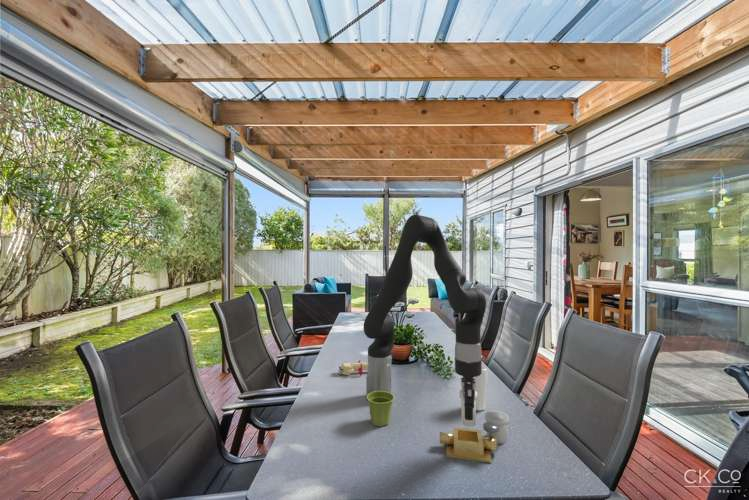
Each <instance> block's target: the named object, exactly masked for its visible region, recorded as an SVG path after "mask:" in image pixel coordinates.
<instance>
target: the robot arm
mask: <svg viewBox="0 0 749 500" xmlns="http://www.w3.org/2000/svg"><path fill="white" fill-rule="evenodd" d="M417 243H422V244H423V243H424V244H426V245H427V246H428V247H429V248H430V249H431V251H432V252H433V264H434V269H435V271H436V274H437V275H438V277H439V279H440V280H441V281H442V283H443V285H444V288H445V292H446V296H447V300H448V304H449V306H450V308H451V309H452V310H453V311H454V312H456V313H457V314H465V316H464V317H463V319H460V320H458V321H457V322H456V324H455V345H454V371H455V373H456V374H457V375H458V376H462V377H461V378H460V383H461V390H462V394H463V398H464V406H465V419H466V420H473V408H474V399H475V388H476V382H475V378H473V377H477V376H480V375H481V373H482V365H483V363H482V360H483V359H482V358H483V357H482V343H481V327H482V324H483V321H484V316H485V313H486V309H487V298H486V295H485V293H484V291H482V290H481V289H480V288H477V287H470V288H467V287H466V288H463V286H464V285H465V284H466V281H467V277H466V274H465V272H464V271H463V270H462V268H461V266H460V265H459V264H458V261H456V259H455V258H454V256H453V254H452V253H451V251H450V248H449V246H448V244H447V241H446V239H445V237H444V235H443V232H442V230H441V227H440V225H439V224H438V222H437V221H436V220H435V219H434V218H432V217H428V216H425V215H421V214H412V215H410V216H409V217H408V219H407V220H406V221H405V224H404V226H403V228H402V232H401V235H400V238H399V242H398V245H397V247H396V251H395V253H394V255H393V259H392V261H391V263H390V265H389V268H388V270H387V273H386V275H385V276H384V280H383V282H382V285H381V288H380V290H379V292H378V294H377V296H376V298H375V299H374V300H375V301H374V302H373V304H372V305H371V308H370V310H369V312H367V315H366V317H365V318H364V322H363V333H364V335H365V336H366V337H367V338H368V339H371V340H373V341H372V342H371V344H370V345H369V346H368V347H367V363H368V370H367V374H366V375H365V376H366V377H365V378H366V381H365V382H366V385H365V387H366V390H365V392H366V393H365V394H366V396H365V398H366V401H368V400H367V395H368V394H369V393H371V392H374V391H386V392H389V393H391V394H392V372H391V371H392V351H393V348H394V344H395V343H394V339H395V337H394V336H395V323H394V319H393V317H392V316H391V314H389V313H390V311H391V310H392V308H394V307H395V306H396V304H397V303H398V302H399V301H400V300H401V299H402V298H403V297H404V295H405V294H406V292H407V290H408V289H409V286H410V284H411V282H412V280H413V276H414V275H413V265H412V255H413V252H414V249H415V246H416V244H417ZM464 392H465V394H464ZM467 401H470V402H471V403H469V402H467Z"/></svg>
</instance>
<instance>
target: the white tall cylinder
mask: <svg viewBox="0 0 749 500" xmlns="http://www.w3.org/2000/svg"><path fill="white" fill-rule="evenodd" d="M473 378H475V382H476V388H475V391H476V392H477V400H476V411H484V410H485V409H486V399H487V388H488V368H487V366H486V365H483V364H482V373H481V375H480V376H477V377H473Z"/></svg>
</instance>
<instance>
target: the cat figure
mask: <svg viewBox="0 0 749 500" xmlns="http://www.w3.org/2000/svg"><path fill="white" fill-rule="evenodd" d="M357 371H358V374H359V375H360V377H361V376H362V375H363V371H368V362H361V360H358V362H354V363H350V362H344V363H342V365H339V366H338V369H337V372H338V374H339V375H343V376H351V374H352V373H354V372H357ZM391 373H392V370H391Z"/></svg>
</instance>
